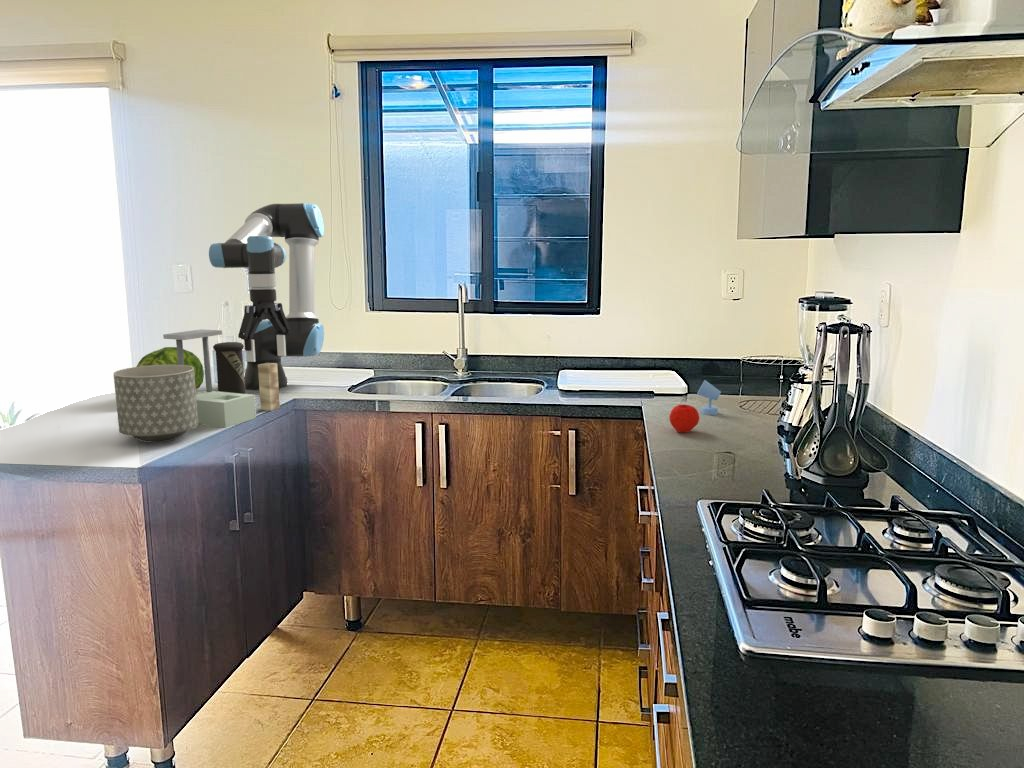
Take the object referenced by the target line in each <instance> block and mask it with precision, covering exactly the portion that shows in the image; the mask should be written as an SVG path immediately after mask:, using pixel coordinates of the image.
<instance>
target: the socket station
mask: <svg viewBox="0 0 1024 768" xmlns="http://www.w3.org/2000/svg"><path fill="white" fill-rule="evenodd" d="M162 335H163V337H162V338H163V339H164V340H175V341H176V342H175V343H176V345H175V346H176V347H177V357H178V365H184V355H183V349H184V348H183V343H184V342H183V341H188V340H193V339H200V338H201V340H202V352H203V365H204V366H203V369H204V379H205V390H203V391H198V392H196V399H197V411H198V425H203V426H212V427H220V428H229V427H231V426H235V425H238V424H242V423H245V422H249V421H252V420H254V419H255V420H256V418H257V415H256V413H257V412H256V399H255V394H250V393H249V394H248V393H246V394H240V393H229V392H219V391H218V390H217V391H216V390H213V387H212V385H213V384H212V383H213V382H212V373H211V372H212V371H211V370H212V369H211V357H210V345H209V337H215V336H220V335H223V331H222V330H219V329H203V328H200V329H194V330H185V331H179V332H171V333H165V334H162Z"/></svg>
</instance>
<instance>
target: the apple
mask: <svg viewBox="0 0 1024 768" xmlns="http://www.w3.org/2000/svg"><path fill="white" fill-rule="evenodd" d="M668 419H669V423H670V425H671V426H672V427H673V429H674V430H675V431H676V432H678V433H682V434H686V433H689V432H691V431H692V430H693V429H694V428H695V427H696V426H697V425H698V424H699V422H700V414H699V412H698V410H697V408H696V407H695V406H692V405H691V404H690V405H689V404H678V405H675V406H674V407H673V408H671V411H670V413H669V418H668Z"/></svg>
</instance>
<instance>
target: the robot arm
mask: <svg viewBox="0 0 1024 768" xmlns="http://www.w3.org/2000/svg"><path fill="white" fill-rule="evenodd" d="M321 212H322V211H321V209H320V208H319V206H318V205H317V204H315V203H305V202H303V203H302V202H301V203H272V204H267V205H264V206H262V207H260V208H258V209H256V210H254V211H252V212H250V214H249V215H247V217H246V219H245V220H244V224H243V225H242V226H241V227H239V228H238V230H236V232H235V233H233V234H232V235H231V236H230V237H229V238H228V239H227V240H226V241H225V242H217V243H212V244H210V246H209V248H208V259H209V262H210V264H211V266H212V267H214V268H217V269H218V268H222V269H234V268H235V269H236V268H237V269H242V268H248V280H249V281H248V283H249V284H248V285H249V287H250V288H251V289H250V290H249V300H250V302H252V305H245V306H244V314H243V318H242V322H241V325H240V328H239V332H238V335H237V337H238V339H241V340H243V341H244V344H243V345H244V351H245V355H246V357H245V358H246V368H245V371H244V379H245V389H246V390H247V389H248V390H259V375H258V365H259V364H263V363H277V368H278V385H279V389H280V388H283V387H287V386H288V385H287V383H288V377H287V376H286V374H285V373H286V372H285V369H284V367H283V364H282V358H283V357H288V358H291V357H292V358H293V357H297V358H298V357H305V358H307V357H316V356H318V355H319V354H320V352H322V351H321V350H322V348H323V345H324V338H325V331H324V330H325V328H324V324H322V322H320V321H319V320H320V319H319V317H318V316H317V315H316V314H315V248H316V246H317V245H318V244H319V242H320V241H319V240H320V239H319V238H323V237H324V233H325V226H324V220H323V215H322V213H321ZM273 238H284V242H285V244H287V245H288V248H289V249H288V251H289V254H288V257H289V259H288V260H289V261H288V262H289V263H288V264H289V265H288V267H289V268H288V269H289V270H288V271H289V273H288V276H289V277H288V279H289V281H288V283H289V286H288V288H289V289H288V291H289V293H288V296H289V297H288V299H289V301H288V303H289V305H288V307H289V309H288V310H289V313H288V314H287V315H285V312H284V308H283V304H282V302H276V301H277V289H275V287H276V286H277V285H276V283H277V281H276V268H279V267H280V266H283V265H284V264H285V262H286V260H287V252H286V249H285V248H284V246H282V244H279V243H277V242H274V239H273Z"/></svg>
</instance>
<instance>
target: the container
mask: <svg viewBox="0 0 1024 768" xmlns="http://www.w3.org/2000/svg"><path fill="white" fill-rule="evenodd" d="M212 348H213V351H215V361H216V378H217V391H219V392H229V393H240V394H247V392H246V390H247V389H246V388H245V379H244V377H245V370H244V358H243V356H244V355H243V349H245V344H243V343H242V342H239V341H237V342H236V341H226V342H217V343H215V344H214V345H213V347H212Z"/></svg>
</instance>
